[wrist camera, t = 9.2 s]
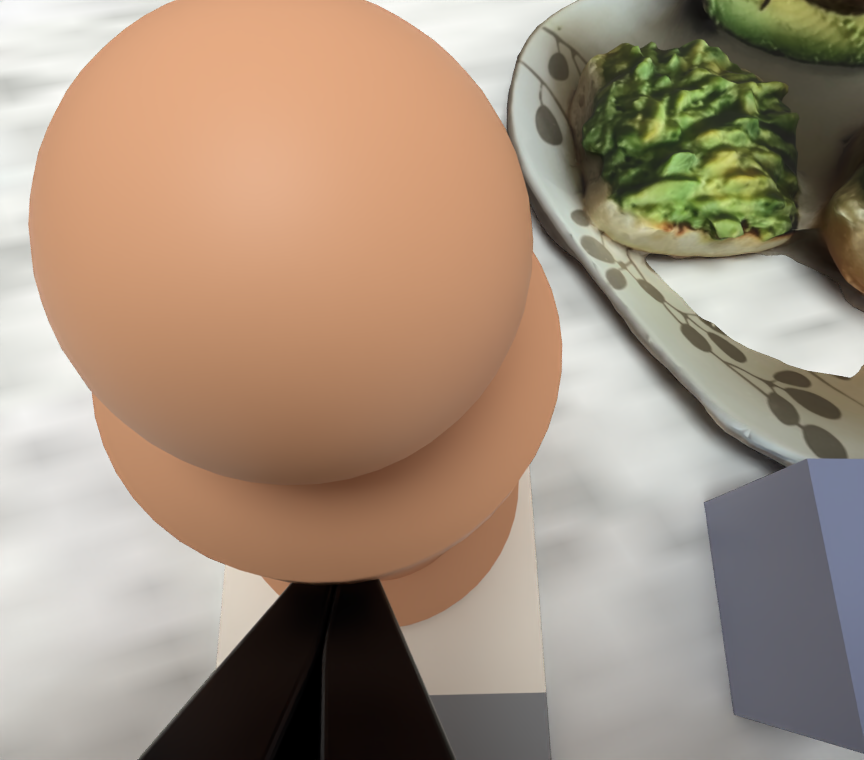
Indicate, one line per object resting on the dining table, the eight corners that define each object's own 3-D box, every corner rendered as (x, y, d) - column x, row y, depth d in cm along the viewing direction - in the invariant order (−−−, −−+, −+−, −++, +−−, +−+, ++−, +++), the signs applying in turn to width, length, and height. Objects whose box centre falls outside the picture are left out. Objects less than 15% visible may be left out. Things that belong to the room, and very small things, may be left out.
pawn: (560, 472, 15) (975, 11, 4) (397, 690, 14) (240, 1079, 2) (368, 327, 17) (236, -350, 5) (197, 510, 15) (-587, 127, 3)
